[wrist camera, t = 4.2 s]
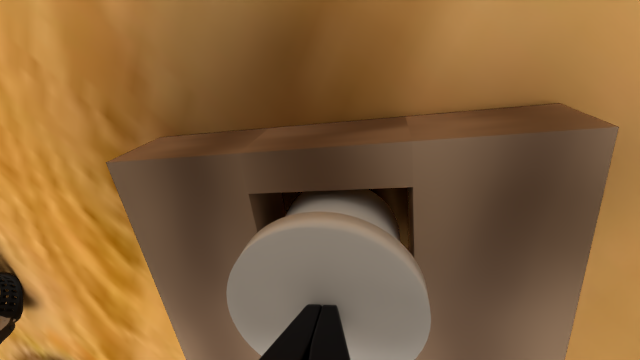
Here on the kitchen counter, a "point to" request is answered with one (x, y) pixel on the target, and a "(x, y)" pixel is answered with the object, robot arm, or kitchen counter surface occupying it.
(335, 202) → the grey plug
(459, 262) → the socket board
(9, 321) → the smartwatch
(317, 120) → the kitchen counter surface
